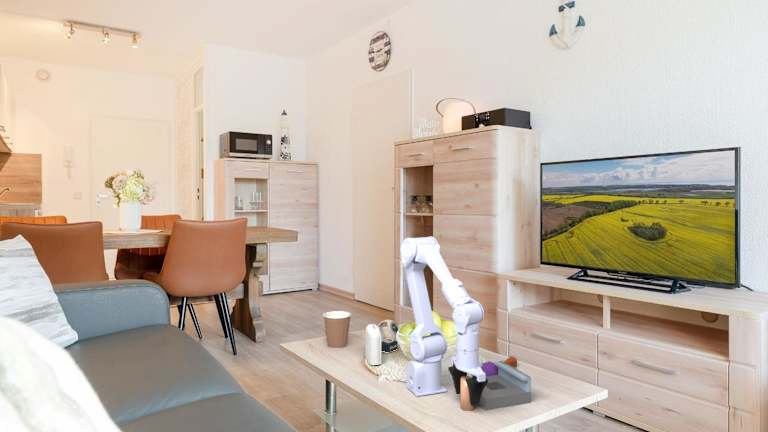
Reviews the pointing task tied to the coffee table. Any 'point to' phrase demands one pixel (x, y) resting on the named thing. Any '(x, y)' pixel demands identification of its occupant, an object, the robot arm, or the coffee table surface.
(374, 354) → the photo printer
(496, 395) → the socket
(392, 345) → the watch
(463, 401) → the peg
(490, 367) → the kendama
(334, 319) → the coffee cup
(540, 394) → the coffee table surface
